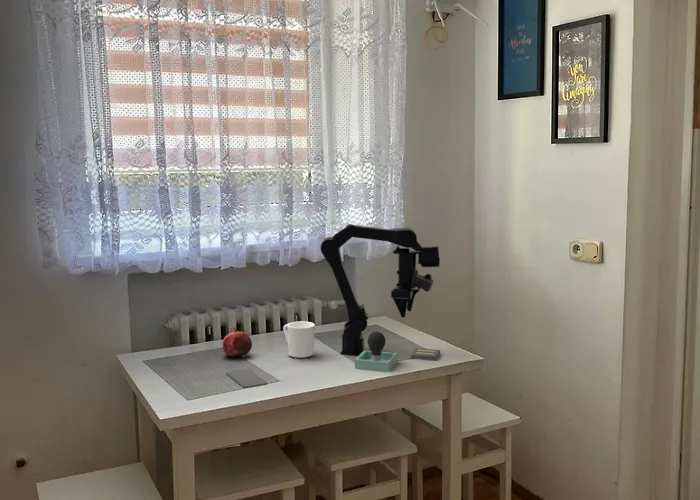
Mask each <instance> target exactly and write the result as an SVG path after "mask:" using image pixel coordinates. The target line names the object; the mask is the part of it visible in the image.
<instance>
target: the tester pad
mask: <svg viewBox="0 0 700 500" xmlns="http://www.w3.org/2000/svg"><path fill="white" fill-rule="evenodd" d="M440 355H441V349H430V348H420V347H417V348H415V349H414V351H413V352H412V354H410V359H412V360H413V359H414V360H426V361H437V359H438V358H439V356H440Z"/></svg>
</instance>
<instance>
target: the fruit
mask: <svg viewBox="0 0 700 500" xmlns="http://www.w3.org/2000/svg"><path fill="white" fill-rule="evenodd" d="M230 331H231V332H230V333H228V334H227V335H225V336H224V337H223V341H222V350H223V352H224V354H226V355H227V356H229V357H245V358H247V355H248V354H249V353H250V352H251V350H252V347H253V341H252V339H251V337H250V336H249V334H247V333H245V332H244V331H239V330H238V329H237V325H234V327H233V329H230Z"/></svg>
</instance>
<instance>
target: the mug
mask: <svg viewBox="0 0 700 500" xmlns="http://www.w3.org/2000/svg"><path fill="white" fill-rule="evenodd" d="M315 326H316V324H315V323H313V322H311V321H303V320H302V321H300V320H299V321H293V322H289V323H286V324H285V325H284V326H283V328H282V329H283V334H284V337H285V339H286V342H287V345H288V356H289V358H290V359H294V358H296V359H295V360H305V358H307V359H311V358H313V357H314V354H315V353H314V351H315V350H314V349H315V346H314V345H315V342H314V341H315V328H316V327H315ZM310 357H311V358H310Z"/></svg>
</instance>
